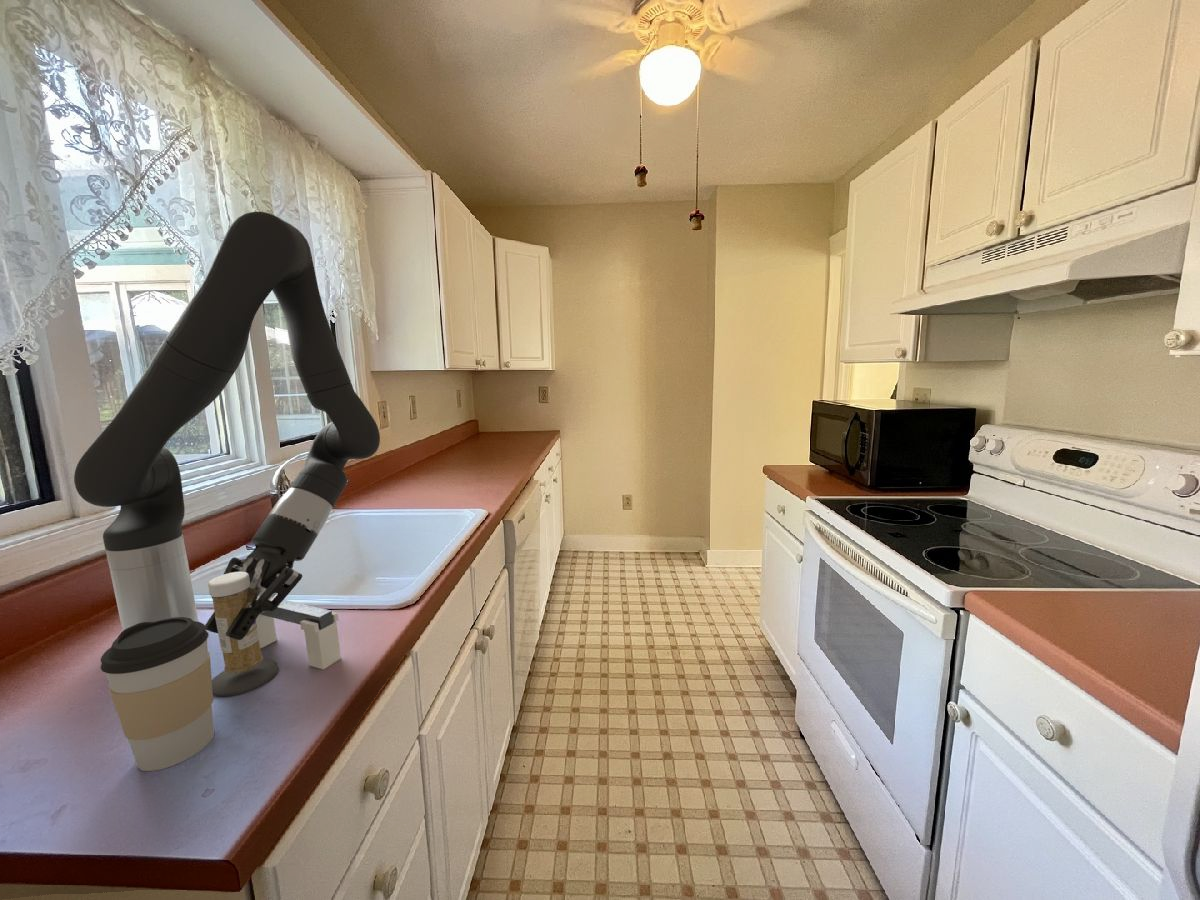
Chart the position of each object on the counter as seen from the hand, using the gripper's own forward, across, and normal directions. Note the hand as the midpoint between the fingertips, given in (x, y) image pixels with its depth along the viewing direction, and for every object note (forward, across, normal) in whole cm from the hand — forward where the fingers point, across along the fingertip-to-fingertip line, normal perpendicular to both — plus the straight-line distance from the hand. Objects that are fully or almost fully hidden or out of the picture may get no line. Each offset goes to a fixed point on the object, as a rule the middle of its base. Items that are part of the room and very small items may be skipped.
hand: (222, 634), depth 66 cm
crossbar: (-5, 0, +8) cm, 9 cm away
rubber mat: (+4, 0, +7) cm, 8 cm away
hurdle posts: (-1, 0, +12) cm, 12 cm away
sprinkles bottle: (+3, 0, +6) cm, 6 cm away
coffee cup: (+12, +6, -1) cm, 14 cm away
